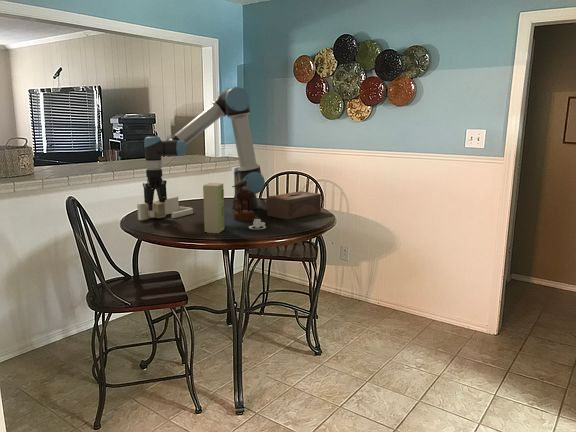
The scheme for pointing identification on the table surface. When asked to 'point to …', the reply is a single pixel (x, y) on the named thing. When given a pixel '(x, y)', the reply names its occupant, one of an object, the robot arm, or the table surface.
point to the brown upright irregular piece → (243, 195)
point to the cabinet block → (158, 209)
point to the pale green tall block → (213, 207)
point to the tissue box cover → (293, 204)
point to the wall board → (170, 208)
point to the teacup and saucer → (258, 224)
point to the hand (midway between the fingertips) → (156, 215)
